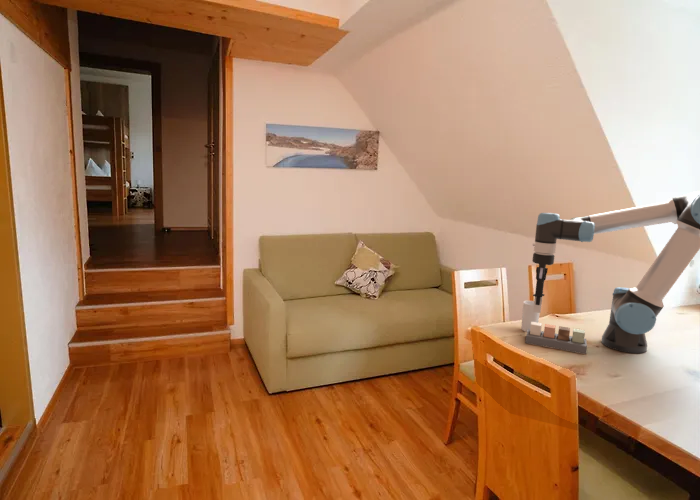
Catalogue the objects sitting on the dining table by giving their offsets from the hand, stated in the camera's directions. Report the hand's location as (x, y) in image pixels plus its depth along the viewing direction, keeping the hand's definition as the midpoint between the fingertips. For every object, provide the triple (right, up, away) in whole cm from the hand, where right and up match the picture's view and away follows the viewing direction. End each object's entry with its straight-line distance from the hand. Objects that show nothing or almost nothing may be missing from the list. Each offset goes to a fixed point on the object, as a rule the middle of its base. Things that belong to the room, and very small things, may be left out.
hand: (536, 312), depth 170 cm
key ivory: (0, -9, +1) cm, 9 cm away
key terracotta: (+4, -9, -1) cm, 10 cm away
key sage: (+13, -10, -5) cm, 18 cm away
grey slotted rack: (+7, -12, -1) cm, 14 cm away
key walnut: (+9, -10, -3) cm, 14 cm away
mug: (+4, -10, +15) cm, 19 cm away
